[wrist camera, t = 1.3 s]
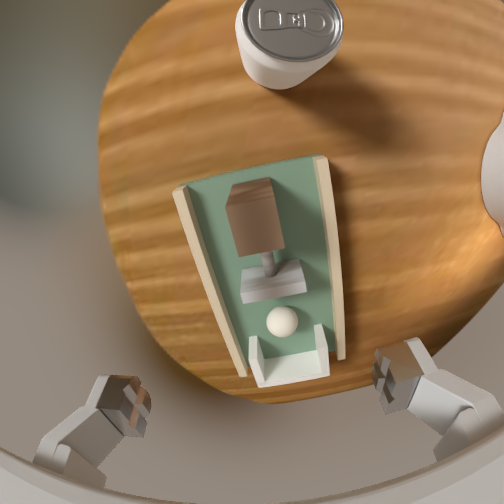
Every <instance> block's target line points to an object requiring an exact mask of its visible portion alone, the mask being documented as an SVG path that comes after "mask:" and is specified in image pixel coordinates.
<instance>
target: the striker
mask: <svg viewBox="0 0 504 504" xmlns="http://www.w3.org/2000/svg"><path fill="white" fill-rule="evenodd" d="M225 210H226V213H227V217H228V220H229V224H230V228H231V231H232V235H233V239H234V242H235V246H236V249H237V253H238V257H243V256H248V255H253V254H258V253H260V256H261V260H262V264H263V266H258V267H253V268H248V269H243V270H242V276H241V288H240V295H241V298H242V302H243V304H245V303H251V302H257V301H262V300H268V299H273V298H279V297H284V296H289V295H294V294H299V293H304V292H307V289H306V283H305V278H304V275H303V271H302V267H301V264H300V260H299V259H294V260H289V261H283V262H278V263H275V260H274V255H273V250H278V249H283V248H285V246H284V241H283V236H282V231H281V226H280V221H279V216H278V211H277V207H276V202H275V197H274V193H273V189H272V184H271V180H270V177H265V178H260V179H256V180H251V181H247V182H242V183H238V184H233V185H232V187H231V190H230V193H229V196H228V200H227V203H226V206H225Z"/></svg>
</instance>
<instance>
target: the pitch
mask: <svg viewBox="0 0 504 504" xmlns="http://www.w3.org/2000/svg"><path fill="white" fill-rule="evenodd" d="M265 177H270V180H271V184H272V189H273V193H274V197H275V202H276V207H277V211H278V216H279V221H280V226H281V231H282V236H283V241H284V246H285V248H283V249H278V250H273V255H274V260H275V263H278V262H283V261H289V260H294V259H299V260H300V264H301V267H302V271H303V275H304V278H305V283H306V289H307V292H304V293H299V294H294V295H289V296H284V297H279V298H273V299H268V300H262V301H257V302H251V303H245V304H243V302H242V298H241V295H240V288H241V276H242V270H243V269H248V268H253V267H258V266H263V264H262V260H261V256H260V253H258V254H253V255H248V256H243V257H238V253H237V249H236V246H235V242H234V239H233V235H232V231H231V228H230V224H229V220H228V217H227V213H226V210H225V206H226V203H227V200H228V196H229V193H230V190H231V187H232V185H233V184H238V183H242V182H247V181H251V180H256V179H260V178H265ZM172 194H173V197H174V200H175V203H176V206H177V209H178V213H179V216H180V219H181V222H182V225H183V228H184V231H185V234H186V237H187V240H188V243H189V246H190V248H191V251H192V254H193V257H194V260H195V263H196V266H197V268H198V271H199V274H200V277H201V280H202V282H203V285H204V288H205V290H206V293H207V296H208V298H209V301H210V304H211V306H212V309H213V312H214V314H215V317H216V319H217V322H218V325H219V327H220V330H221V332H222V335H223V337H224V340H225V342H226V345H227V347H228V350H229V352H230V355H231V357H232V359H233V362H234V364H235V367H236V369H237V371H238V374H239V376H240V377H246V376H247V372H248V366H250V363H249V360H248V359H249V337H251V336H257V337H258V340H259V344H260V347H261V350H262V353H263V357H264V359H269V358H275V357H281V356H287V355H292V354H298V353H303V352H308V351H314V350H317V349H316V341H315V333H314V325H317V324H322V327H323V331H324V335H325V338H326V342H327V346H328V352H333V351H335V352H336V355H337V359H338V360H342V359H345V323H344V302H343V286H342V273H341V261H340V250H339V240H338V231H337V222H336V214H335V206H334V198H333V191H332V184H331V178H330V171H329V165H328V159H327V158H326V157H325V156H323V155H321V154H316V155H310V156H305V157H299V158H294V159H288V160H283V161H278V162H273V163H268V164H263V165H259V166H254V167H250V168H245V169H241V170H236V171H232V172H228V173H224V174H219V175H215V176H211V177H207V178H204V179H200V180H196V181H192V182H188V183H185V184H181V185H179V186H178V187H177V188H176V189H175V190H174V191H173V192H172ZM279 306H286V307H289V308H291V309H292V310H293V311H294V312H295V313H296V315H297V318H298V326H297V328H296V330H295V331H294V333H292V334H291V335H290V336H287V337H277V336H275V335H273V334H272V333H271V332H270V331H269V330H268V327H267V323H266V321H267V316H268V314H269V313H270V312H271V310H273V309H274V308H276V307H279Z"/></svg>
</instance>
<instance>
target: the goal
mask: <svg viewBox="0 0 504 504" xmlns="http://www.w3.org/2000/svg"><path fill="white" fill-rule="evenodd" d="M314 333H315V341H316V349H317V350H314V351H308V352H303V353H298V354H292V355H287V356H281V357H275V358H269V359H264V357H263V353H262V350H261V347H260V344H259V340H258V337H257V336H251V337H249V359H248V360H249V363H250V366H251V369H252V371H253V374H254V377H255V379H256V382H257V385H258V387H259V388H261V387H268V386H275V385H282V384H288V383H294V382H300V381H305V380H310V379H316V378H321V377H325V376H330V371H329V357H328V346H327V342H326V338H325V335H324V331H323V327H322V324H317V325H314Z"/></svg>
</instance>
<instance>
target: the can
mask: <svg viewBox="0 0 504 504" xmlns="http://www.w3.org/2000/svg"><path fill="white" fill-rule="evenodd" d="M343 28H344V23H343V17H342V14H341V11H340V9H339V7H338V6H337V4H336V3H335V2H334V0H245V2H244V3H243V4H242V6H241V7H240V9H239V11H238V14H237V17H236V23H235V30H236V37H237V41H238V46H239V50H240V54H241V58H242V62H243V65H244V68H245V70H246V72H247V73H248V75H249V76H250V77H251V78H252V79H253V80H254V81H255V82H257V83H258V84H260V85H262V86H264V87H267V88H271V89H287V88H291V87H294V86H296V85H298V84H300V83H301V82H303V81H304V80H306V79H307V78H308V77H310V76H311V75H312V74H314V73H315V72H316V71H318V70H319V69H321V68H322V67H323V66H325V65H326V64H327V63H328V62H329V61H330V60H331V59H332V58H333V57H334V56H335V55H336V53H337V52H338V50H339V48H340V46H341V42H342V37H343Z"/></svg>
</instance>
